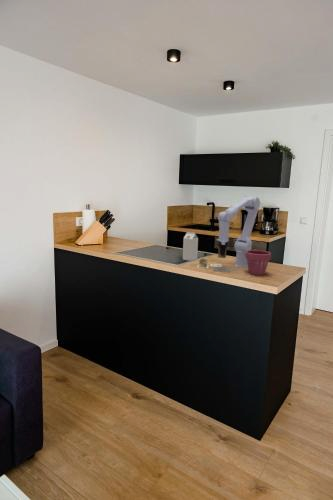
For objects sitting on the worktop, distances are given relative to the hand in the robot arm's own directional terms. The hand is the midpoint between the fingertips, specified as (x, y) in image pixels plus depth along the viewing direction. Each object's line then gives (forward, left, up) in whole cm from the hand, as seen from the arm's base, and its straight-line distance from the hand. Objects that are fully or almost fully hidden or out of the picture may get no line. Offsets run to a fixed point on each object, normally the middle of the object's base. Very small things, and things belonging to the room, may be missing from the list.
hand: (222, 254), depth 205 cm
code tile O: (+12, -4, -9) cm, 16 cm away
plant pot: (-20, +3, -10) cm, 23 cm away
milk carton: (+22, -22, -10) cm, 33 cm away
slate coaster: (0, +1, -9) cm, 9 cm away
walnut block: (0, 0, -2) cm, 2 cm away
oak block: (+12, -4, -9) cm, 15 cm away
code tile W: (+4, -9, -9) cm, 14 cm away
